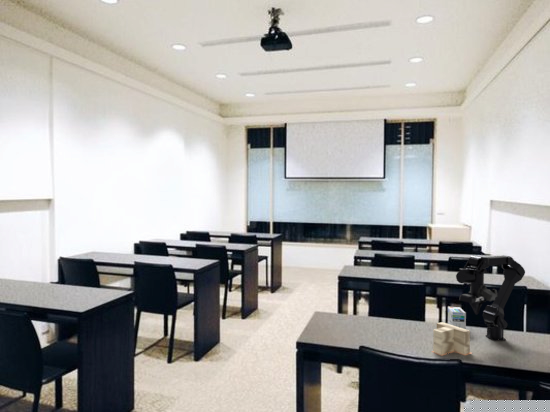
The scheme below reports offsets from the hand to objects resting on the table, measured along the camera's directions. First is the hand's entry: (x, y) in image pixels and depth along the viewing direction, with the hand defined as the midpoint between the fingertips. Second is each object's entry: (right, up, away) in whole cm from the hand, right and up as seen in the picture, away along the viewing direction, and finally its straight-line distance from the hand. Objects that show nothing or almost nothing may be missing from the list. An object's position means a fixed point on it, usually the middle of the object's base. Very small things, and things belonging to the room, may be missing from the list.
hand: (476, 314), depth 186 cm
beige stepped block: (-20, -13, -12) cm, 26 cm away
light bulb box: (-2, -13, +17) cm, 22 cm away
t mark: (-19, -13, -11) cm, 26 cm away
